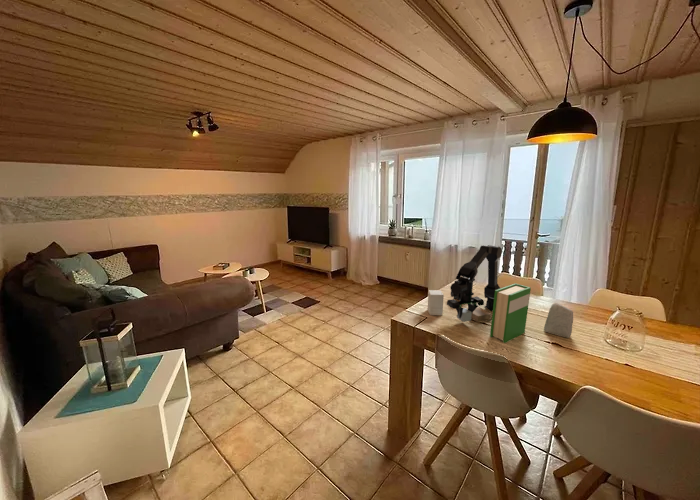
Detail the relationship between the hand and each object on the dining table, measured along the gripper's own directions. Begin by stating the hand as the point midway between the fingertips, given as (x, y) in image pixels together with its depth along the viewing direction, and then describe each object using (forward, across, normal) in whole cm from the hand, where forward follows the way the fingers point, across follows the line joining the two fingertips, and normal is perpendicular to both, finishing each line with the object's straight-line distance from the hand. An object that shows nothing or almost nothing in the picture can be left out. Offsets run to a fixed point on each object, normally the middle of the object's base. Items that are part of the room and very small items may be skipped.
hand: (464, 317), depth 151 cm
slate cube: (+1, 0, 0) cm, 1 cm away
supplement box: (+4, +8, -16) cm, 18 cm away
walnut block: (+4, -12, -4) cm, 13 cm away
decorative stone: (+4, -38, +21) cm, 44 cm away
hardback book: (+4, -14, +16) cm, 21 cm away
